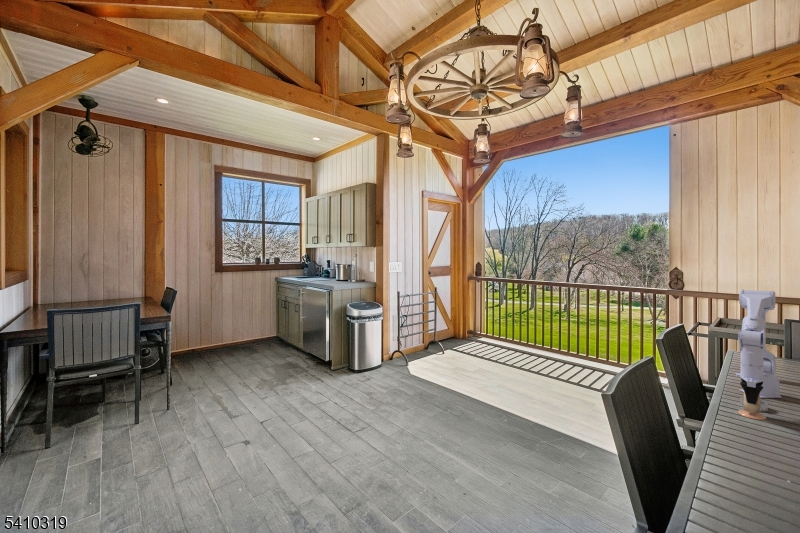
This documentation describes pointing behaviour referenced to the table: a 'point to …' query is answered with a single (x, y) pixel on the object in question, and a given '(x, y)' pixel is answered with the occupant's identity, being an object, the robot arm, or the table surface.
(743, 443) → the table surface
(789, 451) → the table surface
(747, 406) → the peg
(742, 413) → the coaster
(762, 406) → the collar
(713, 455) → the table surface
